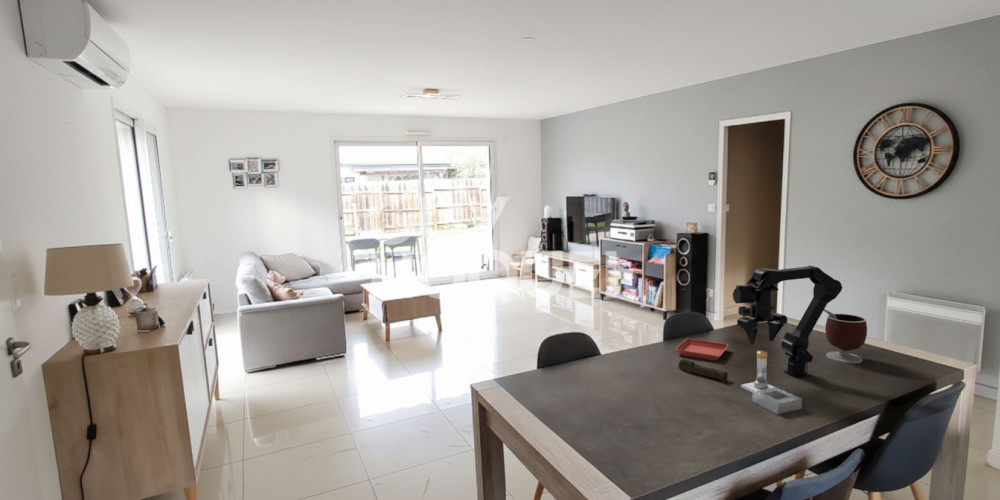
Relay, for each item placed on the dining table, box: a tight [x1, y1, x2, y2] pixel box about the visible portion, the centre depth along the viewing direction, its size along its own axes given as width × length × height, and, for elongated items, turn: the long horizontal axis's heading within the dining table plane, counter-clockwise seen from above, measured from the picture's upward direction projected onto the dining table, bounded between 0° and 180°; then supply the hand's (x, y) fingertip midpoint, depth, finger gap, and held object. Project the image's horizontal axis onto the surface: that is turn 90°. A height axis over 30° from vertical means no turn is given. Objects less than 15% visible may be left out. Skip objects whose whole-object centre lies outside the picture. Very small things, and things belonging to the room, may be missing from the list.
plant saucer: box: [675, 338, 730, 362], centre depth 214 cm, size 18×18×3 cm
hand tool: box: [678, 358, 729, 383], centre depth 190 cm, size 19×4×5 cm, turn 39°
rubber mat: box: [740, 381, 775, 394], centre depth 174 cm, size 9×9×1 cm
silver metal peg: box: [753, 350, 769, 390], centre depth 174 cm, size 4×4×13 cm
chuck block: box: [751, 386, 803, 415], centre depth 162 cm, size 10×10×4 cm
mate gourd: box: [823, 308, 868, 364], centre depth 202 cm, size 16×14×20 cm
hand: (761, 342), depth 185 cm, fingers open, 9 cm apart
